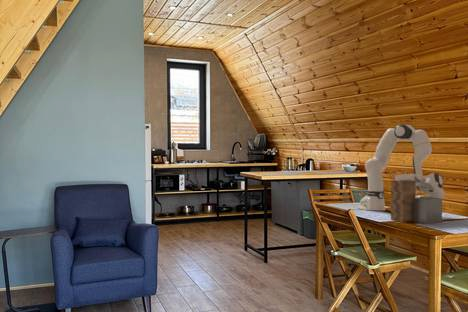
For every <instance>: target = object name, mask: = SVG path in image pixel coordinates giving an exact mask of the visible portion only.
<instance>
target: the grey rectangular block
mask: <svg viewBox="0 0 468 312" xmlns="http://www.w3.org/2000/svg"><path fill="white" fill-rule="evenodd" d="M394 175H395V176H394V178H395V179H394V180H398V181H403V180H418V179H416V178H415V176H419V177H421V178H422V175H423V173H422V174H414V173H410V174H409V173H408V174H407V173H405V174H394Z"/></svg>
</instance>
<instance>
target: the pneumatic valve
mask: <svg viewBox="0 0 468 312" xmlns="http://www.w3.org/2000/svg"><path fill="white" fill-rule="evenodd" d="M422 197H427V196H425V195H422V194H416V198H422Z"/></svg>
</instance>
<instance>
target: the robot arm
mask: <svg viewBox="0 0 468 312" xmlns="http://www.w3.org/2000/svg"><path fill="white" fill-rule="evenodd" d="M400 140H401V141H402V140H403V141H411V143H412V145H413V150H414V154H413V156H412V167H413V174H422V178H421V177H419V176H415V178H416V179H418V180H416V189H417V190H418V191H420V192H422V193H424V194H425V195H427V197H433V198H441V199H442V200H443V199H444V198H445V195H446V193H445V191H444V189H443V186H444V178H443V177H442V175H441V174H439V173H437V172H434V173H431V174H427V175H423V169H422V164H423V162H424V161H425V160H426V159H427V158H429V156H430V155H431V154H432V152H433V147H432V143H431V140H430V138H429V136H428V133H427V132H426V131H425V130H424V129H417V128H416V127H415V126H413V125H410V124H404V123H402V124H399V125H398V124H397V125H396V126H395V128H394V127H393V128H392V127H390V128H387V129H386V131H385V132H384V133H383V135H382V137H381V138H380V140H379V142H378V143H377V144H378V145H376V147H375V153H374V156H373V157H371V158H369V159H368V160H366V161H365V164H364V167H365V168H364V169H365V170H366V176H367V191H365V194H366V195H365V196H363V197H362V198H361V199H360V200H359V205H357V206H356V209H360V210H365V211H380V212H381V211H386V206H385V198H384V197H385V192H384V178H383V174H382V172H383V171H384V170H385V169H386V168H387V165H388V162H389V160H390V159H389V158H390V157H391V154H392V152H393V150H394V148H395V147H396V145H397V143H398V141H400Z"/></svg>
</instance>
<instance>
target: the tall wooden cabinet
mask: <svg viewBox="0 0 468 312" xmlns="http://www.w3.org/2000/svg"><path fill="white" fill-rule="evenodd" d="M389 181H390V190H391V191H390V220H391V221H396V222H401V223H406V222H407V221H408V222H413V198H416V195H417V194H416V193H417V191H416V189H417V188H416V180H403V181H398V180H395V179H390V180H389ZM408 222H407V223H408Z"/></svg>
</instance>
